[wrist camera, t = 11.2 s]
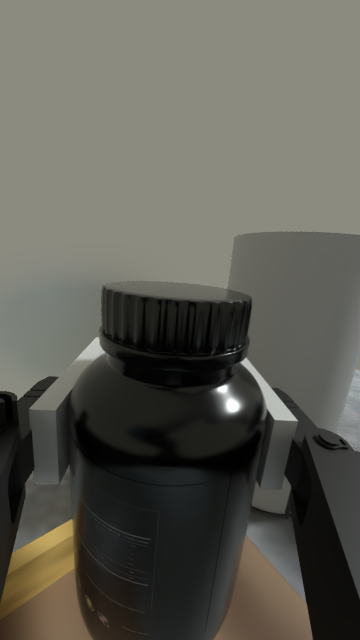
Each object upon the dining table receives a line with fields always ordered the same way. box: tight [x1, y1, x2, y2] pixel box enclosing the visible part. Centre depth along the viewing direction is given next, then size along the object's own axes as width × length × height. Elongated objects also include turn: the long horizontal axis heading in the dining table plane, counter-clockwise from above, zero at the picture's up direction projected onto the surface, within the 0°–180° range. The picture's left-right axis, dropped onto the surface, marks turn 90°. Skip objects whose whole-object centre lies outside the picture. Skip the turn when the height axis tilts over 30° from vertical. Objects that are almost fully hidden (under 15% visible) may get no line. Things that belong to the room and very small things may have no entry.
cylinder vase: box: [228, 232, 360, 514], centre depth 25 cm, size 12×12×25 cm
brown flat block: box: [0, 519, 313, 640], centre depth 13 cm, size 18×12×5 cm, turn 128°
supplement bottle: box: [68, 281, 267, 640], centre depth 9 cm, size 7×7×12 cm
